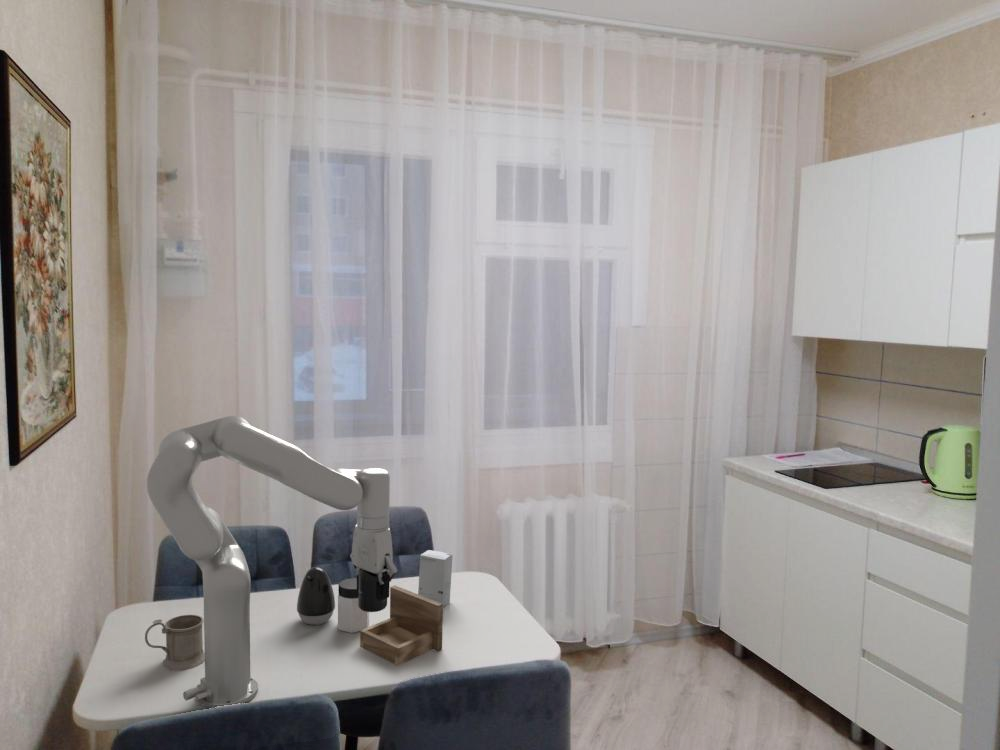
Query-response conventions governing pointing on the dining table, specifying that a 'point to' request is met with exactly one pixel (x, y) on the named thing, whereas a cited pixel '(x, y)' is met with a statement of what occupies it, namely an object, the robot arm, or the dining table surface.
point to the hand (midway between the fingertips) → (372, 593)
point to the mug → (181, 642)
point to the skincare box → (435, 576)
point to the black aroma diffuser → (316, 597)
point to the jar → (350, 608)
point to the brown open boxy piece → (405, 628)
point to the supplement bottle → (369, 592)
